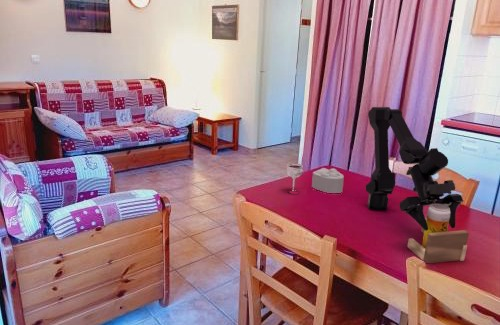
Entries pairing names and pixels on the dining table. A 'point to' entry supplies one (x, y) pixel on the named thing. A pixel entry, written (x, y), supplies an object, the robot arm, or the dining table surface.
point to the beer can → (436, 220)
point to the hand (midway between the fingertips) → (440, 229)
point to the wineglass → (294, 171)
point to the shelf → (441, 246)
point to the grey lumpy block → (328, 180)
